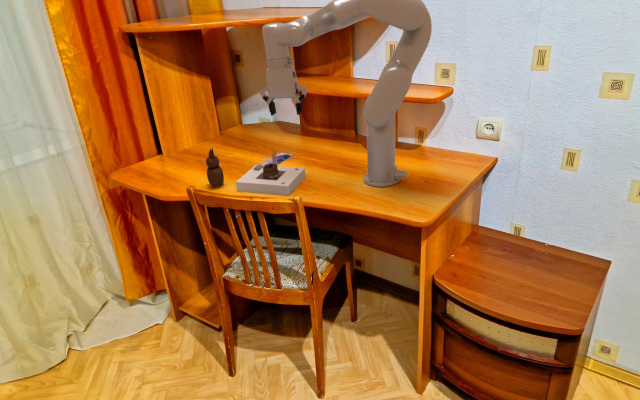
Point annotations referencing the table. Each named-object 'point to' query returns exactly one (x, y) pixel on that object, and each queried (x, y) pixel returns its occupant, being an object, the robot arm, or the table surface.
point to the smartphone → (278, 159)
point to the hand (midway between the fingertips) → (286, 114)
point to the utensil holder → (271, 170)
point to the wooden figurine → (214, 170)
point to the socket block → (271, 181)
